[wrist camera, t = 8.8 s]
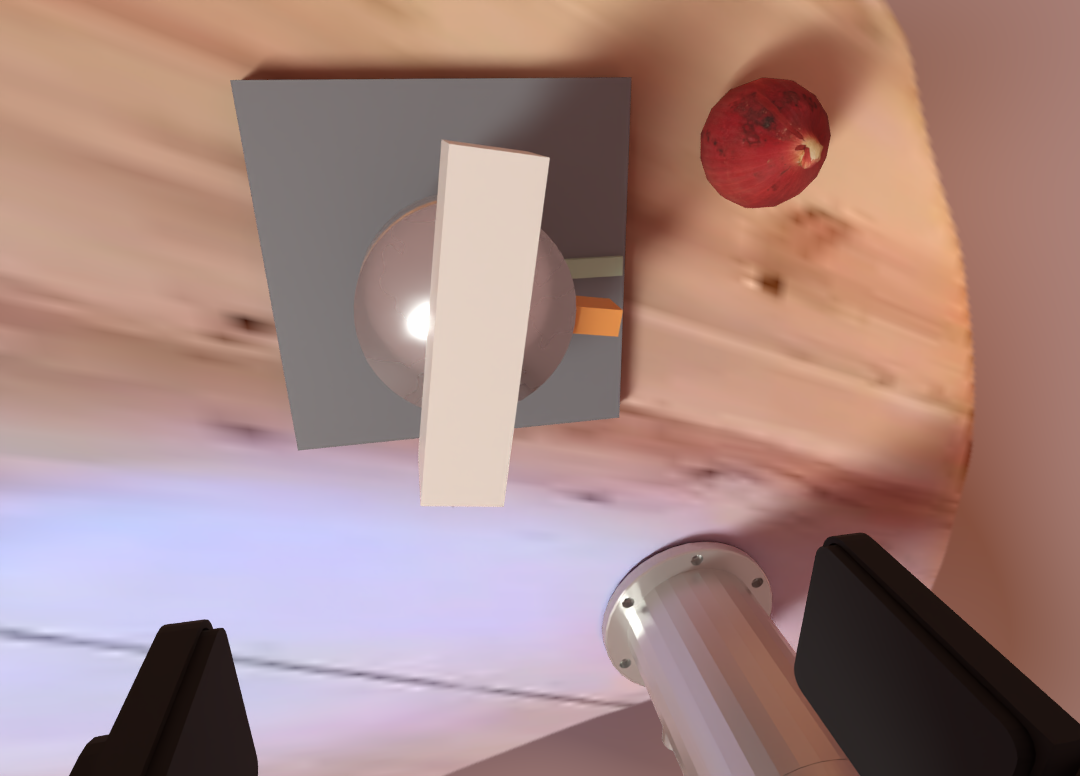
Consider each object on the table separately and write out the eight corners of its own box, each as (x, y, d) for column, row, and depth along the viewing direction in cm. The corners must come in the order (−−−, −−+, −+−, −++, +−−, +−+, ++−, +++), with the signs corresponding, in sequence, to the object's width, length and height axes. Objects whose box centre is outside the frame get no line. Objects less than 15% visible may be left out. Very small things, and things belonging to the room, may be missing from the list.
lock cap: (629, 163, 28) (696, 177, 22) (582, 432, 33) (626, 507, 26) (363, 126, 26) (351, 130, 19) (353, 423, 30) (341, 505, 24)
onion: (654, 142, 34) (723, 149, 26) (735, 55, 33) (830, 39, 26) (719, 220, 36) (799, 246, 29) (797, 141, 35) (899, 148, 28)
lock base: (611, 407, 39) (642, 449, 34) (301, 437, 36) (286, 489, 31) (621, 78, 32) (662, 72, 27) (238, 81, 29) (204, 74, 24)
